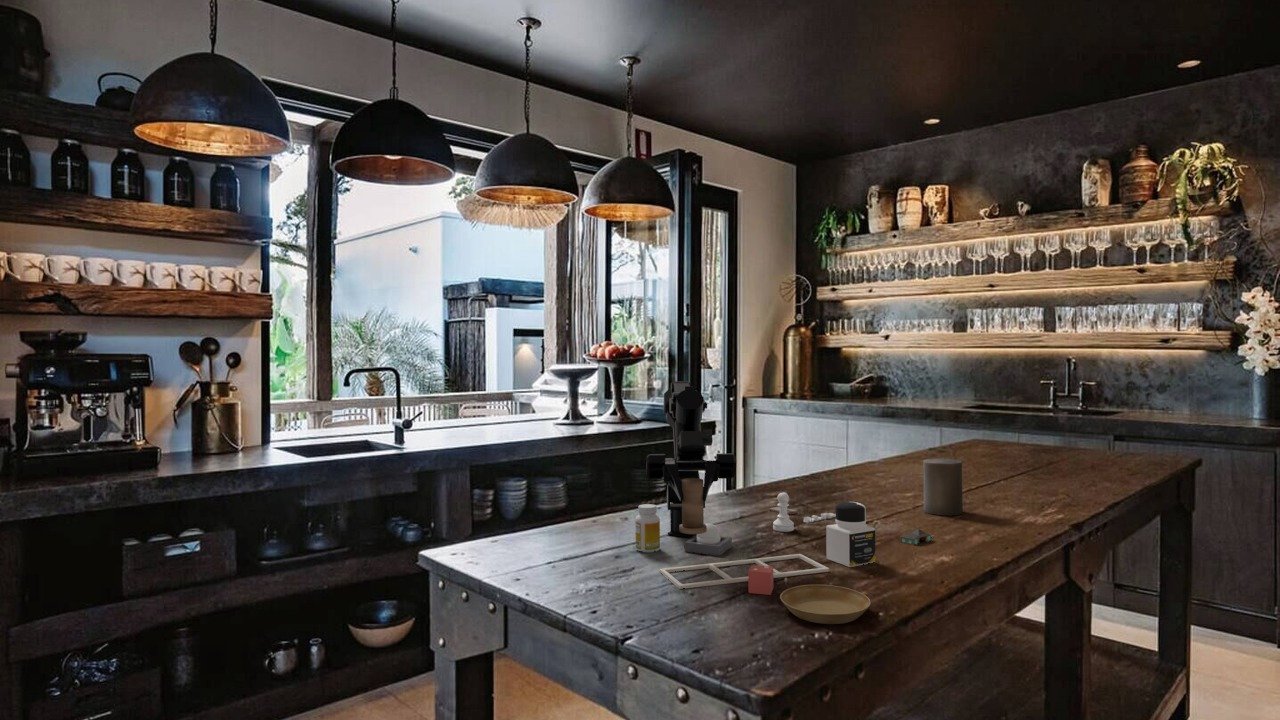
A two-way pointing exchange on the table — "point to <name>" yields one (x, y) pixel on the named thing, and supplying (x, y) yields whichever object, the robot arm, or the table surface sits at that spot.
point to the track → (741, 579)
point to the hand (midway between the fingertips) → (693, 500)
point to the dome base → (708, 546)
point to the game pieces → (908, 538)
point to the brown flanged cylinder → (692, 507)
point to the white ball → (709, 535)
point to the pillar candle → (943, 486)
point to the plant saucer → (825, 603)
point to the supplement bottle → (647, 529)
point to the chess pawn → (783, 515)
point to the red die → (760, 579)
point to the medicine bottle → (850, 536)
